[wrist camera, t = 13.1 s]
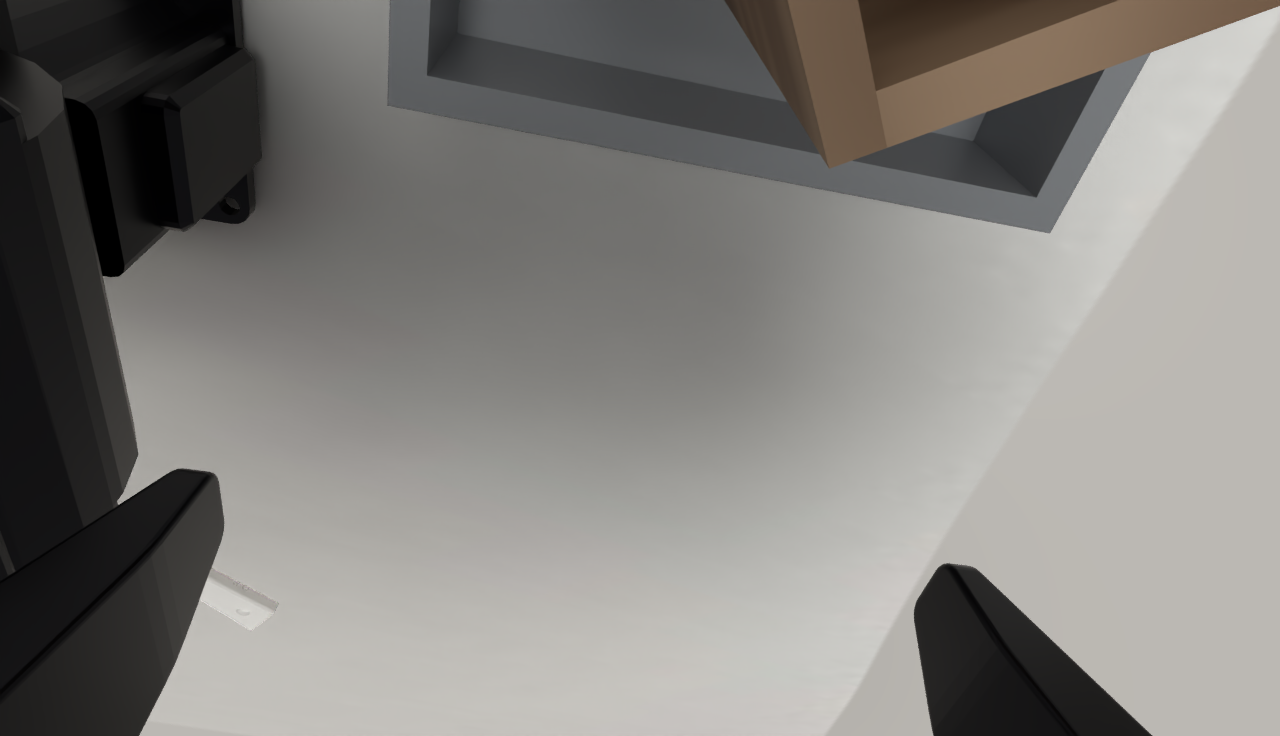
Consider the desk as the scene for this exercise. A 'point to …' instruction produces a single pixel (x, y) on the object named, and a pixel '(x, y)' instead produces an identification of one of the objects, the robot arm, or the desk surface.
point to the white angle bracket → (236, 600)
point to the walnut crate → (949, 56)
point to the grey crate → (727, 103)
